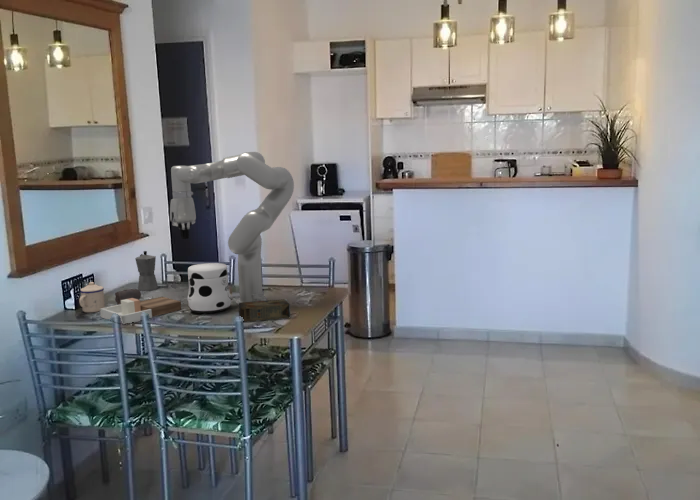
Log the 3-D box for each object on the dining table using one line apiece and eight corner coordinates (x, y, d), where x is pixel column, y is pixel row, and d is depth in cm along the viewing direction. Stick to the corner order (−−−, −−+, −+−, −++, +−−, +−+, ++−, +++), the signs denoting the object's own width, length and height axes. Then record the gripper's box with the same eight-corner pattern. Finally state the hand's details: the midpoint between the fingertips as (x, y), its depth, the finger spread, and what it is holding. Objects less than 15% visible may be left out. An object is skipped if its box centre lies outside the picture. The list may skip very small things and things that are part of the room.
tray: (152, 318, 255) (151, 309, 255) (123, 325, 247) (122, 315, 246) (128, 311, 267) (128, 302, 267) (100, 317, 259) (99, 308, 258)
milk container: (240, 308, 267) (238, 264, 265) (209, 317, 253) (206, 272, 250) (210, 303, 277) (208, 261, 274) (179, 312, 263) (175, 268, 260)
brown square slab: (181, 309, 267) (180, 301, 266) (150, 317, 257) (149, 308, 256) (162, 304, 276) (162, 296, 276) (132, 311, 266) (131, 303, 266)
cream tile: (134, 301, 255) (128, 302, 254) (135, 316, 256) (129, 317, 255) (126, 299, 260) (120, 300, 258) (127, 313, 261) (121, 315, 259)
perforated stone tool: (136, 300, 286) (135, 284, 285) (146, 301, 284) (145, 285, 283) (111, 308, 272) (110, 292, 271) (121, 309, 270) (120, 293, 269)
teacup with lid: (92, 306, 276) (89, 279, 274) (110, 307, 273) (107, 280, 272) (72, 314, 265) (69, 285, 263) (90, 315, 262) (87, 286, 260)
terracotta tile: (139, 300, 257) (134, 301, 256) (141, 314, 258) (135, 316, 256) (132, 297, 261) (126, 299, 260) (133, 312, 262) (127, 313, 261)
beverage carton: (291, 318, 250) (290, 301, 249) (240, 323, 245) (239, 306, 244) (287, 313, 258) (286, 297, 256) (238, 318, 253) (237, 301, 252)
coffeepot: (162, 289, 305) (159, 251, 302) (141, 292, 300) (138, 254, 297) (153, 284, 318) (150, 247, 315) (133, 286, 313) (130, 249, 310)
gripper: (192, 193, 283) (195, 235, 286) (161, 196, 272) (164, 240, 275) (202, 194, 278) (205, 237, 281) (171, 197, 267) (174, 241, 270)
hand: (185, 238), depth 278 cm, fingers closed
